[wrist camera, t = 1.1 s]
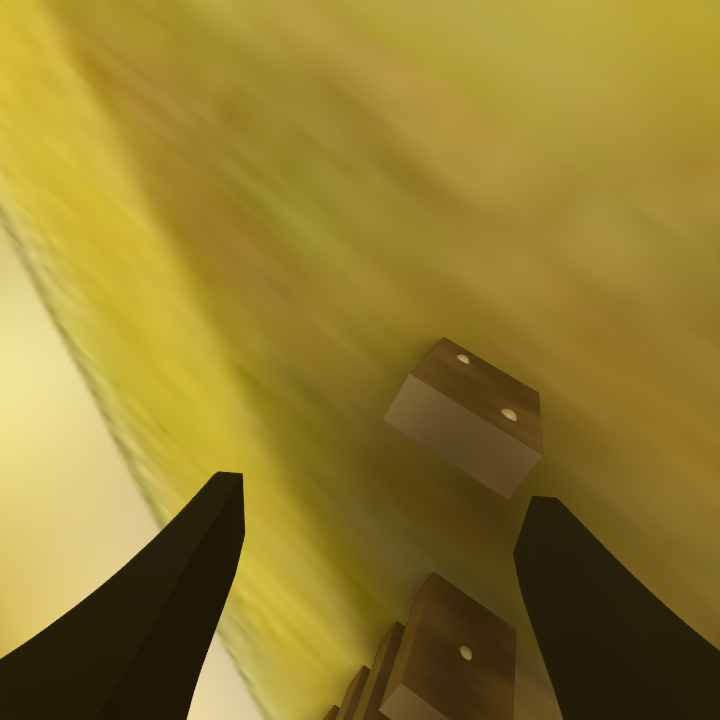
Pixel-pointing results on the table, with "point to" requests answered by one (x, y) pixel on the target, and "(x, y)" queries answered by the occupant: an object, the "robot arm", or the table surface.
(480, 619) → the tile
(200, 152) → the table surface
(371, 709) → the tile
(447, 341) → the tile
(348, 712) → the tile
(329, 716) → the tile
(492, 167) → the table surface
